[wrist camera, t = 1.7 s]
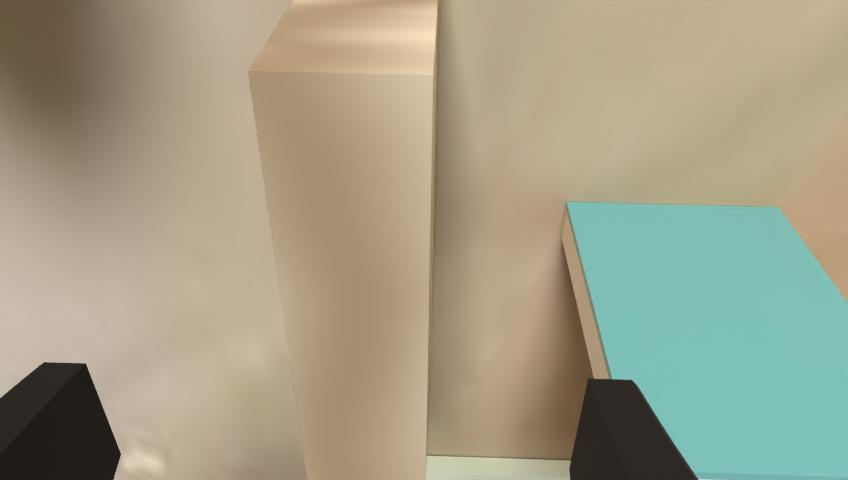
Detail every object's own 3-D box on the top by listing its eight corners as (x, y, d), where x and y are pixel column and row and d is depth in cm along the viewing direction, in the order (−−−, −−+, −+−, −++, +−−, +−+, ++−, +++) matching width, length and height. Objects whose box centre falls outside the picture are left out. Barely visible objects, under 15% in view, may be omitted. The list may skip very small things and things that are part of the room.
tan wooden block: (441, -59, 16) (432, 75, 9) (434, 256, 21) (425, 483, 14) (332, -61, 16) (247, 70, 9) (352, 254, 21) (307, 479, 14)
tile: (778, 207, 19) (976, 481, 12) (765, 241, 20) (946, 520, 13) (566, 201, 20) (635, 469, 12) (561, 236, 20) (624, 509, 13)
